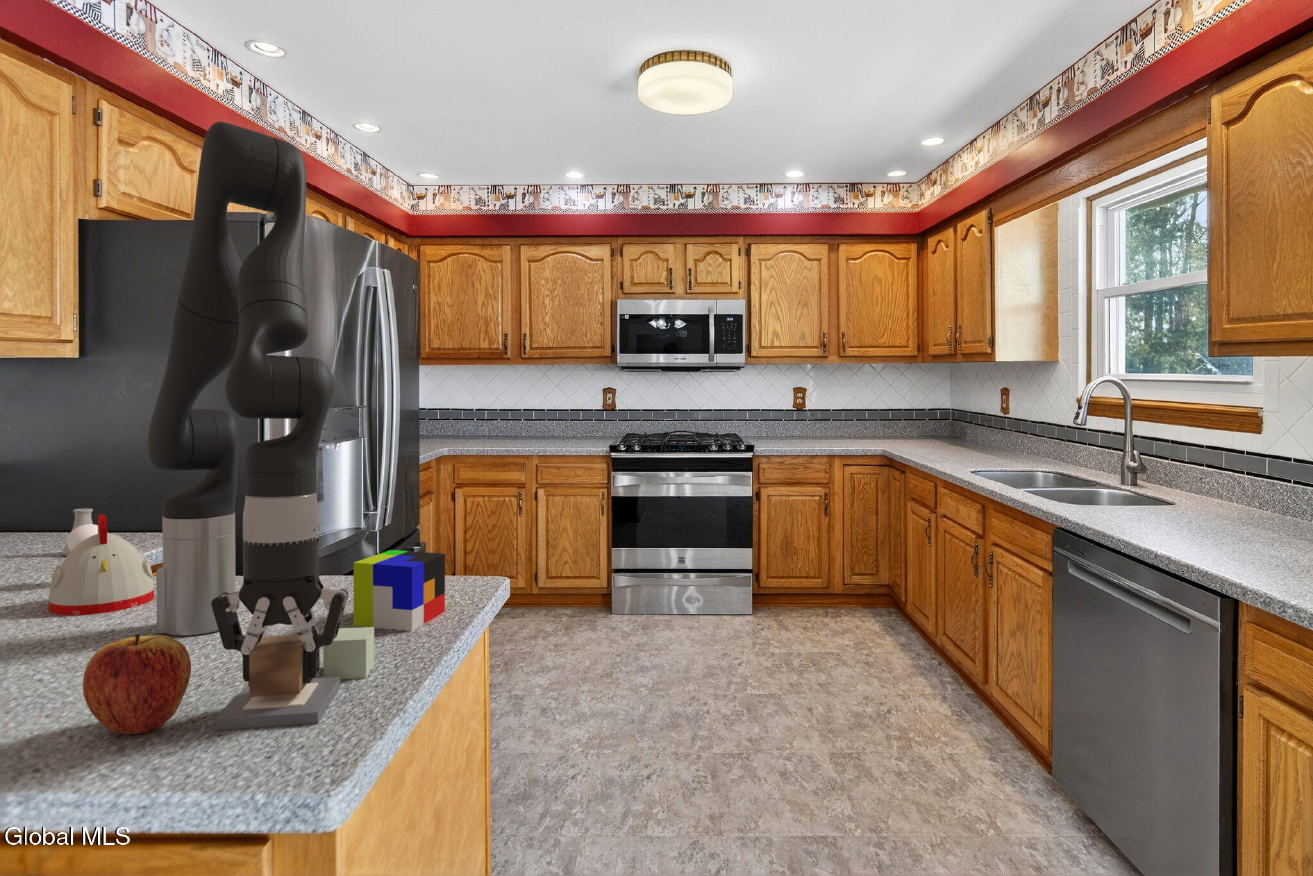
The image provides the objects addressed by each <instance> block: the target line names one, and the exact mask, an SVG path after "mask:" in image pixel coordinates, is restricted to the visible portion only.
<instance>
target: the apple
mask: <svg viewBox="0 0 1313 876" xmlns="http://www.w3.org/2000/svg"><path fill="white" fill-rule="evenodd" d="M190 657H191V656H190V654H189V651H188V649H187V648H186V646H185V645H184V644H183V643H182V642H181V641H178V640H176V639H175V638H173V637H170V636H167V635H164V634H163V635H160V634H159V635H141V633H136V634H135V635H134V636H132V637H127V638H126V637H125V638H123V639H122V638H121V639H118V640H116V641H115V640H114V641H112V642H109V643H107V644H105V645H104V646H102V647H101V648H99V649H98V650H97V651H95V653H94V654H93V655H92V656H91V658H90V659H89V661H88V662H87V665H86V667H85V669H84V674H83V678H82V679H83V680H82V693H83V699H84V700H85V703H86V705H87V708H88V709H89V711H90V713H91V714H92V716H93V717H94V718H95V719H96V720H97V721H98V722H99V724H101V725H102V726H103V727H104V728H106V729H107V730H108V731H111V732H113V733H115V734H121V735H135V734H136V735H137V734H145V733H148V732H151V731H154V730H156V729H158V728H160V727H162V726H163V725H165V724H166V723H167V722H168V721H169V720H171V718H172V717H173V716H174V715H175V714H176V712H177V710H178V709H179V707H180V705H181V703H182V701H183V698H184V697H185V694H186V692H187V689H188V687H189V684H190V680H191V675H192V662H191V658H190Z"/></svg>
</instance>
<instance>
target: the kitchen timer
mask: <svg viewBox="0 0 1313 876" xmlns="http://www.w3.org/2000/svg"><path fill="white" fill-rule="evenodd" d="M107 520H108V519H107V516H106V514H98V519H97V525H98V534H96V535H93V536H91V537H89V538H87V539H85V540H84V541H82V542H81V543H79V544H78V545H77V546H76V547H75V548H74V549H73V550H72V551H71V552H70V553H69V554H68V556H65V558H64V559H63V561H62V562H61V564H60V565H57V566H56V567H55V569H54V571H53V573H52V577H51V582H50V587H49V590H50V592H49V595H48V611H49V612H50V613H51V614H53V615H57V616H59V615H60V616H88V615H89V616H90V615H98V614H99V615H100V614H104V613H105V614H107V613H114V612H118V611H119V612H120V611H124V610H128V609H127V608H129V609H133V608H135V607H134V606H137V607H140V606H142V605H141V604H143V605H145V604H148V603H150V602H151V601H153V600H154V598H155V585H154V579H153V577H154V575H153V572H152V568H151V564H150V561H149V559H147V558H146V557H145V556H143V555H142V554H141V553H140V552H139V550H138V549H137V548H136V547H135V545H133V544H131V543H130V542H129V541H127V540H126V539H125V538H122V536H121V537H120V536H118V535H116V534H112V533H108V526H107V524H108V521H107ZM152 599H153V600H152ZM149 601H150V602H149ZM147 602H148V603H147ZM144 603H145V604H144ZM139 605H140V606H139ZM132 607H133V608H132Z"/></svg>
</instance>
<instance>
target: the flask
mask: <svg viewBox="0 0 1313 876" xmlns="http://www.w3.org/2000/svg"><path fill="white" fill-rule="evenodd" d="M93 510H94V509H93V508H76V509H73V510H72V512H73V513H74V521H73V527H72V529H71V531H70V533H71V532H72V531H73V530H74V529H75V528H77V527H79V526H82V525H86V524H94V523H93V519H92V512H94V511H93ZM70 552H71V551H70V550H69V548H68V546H67V542H65V545H64V547H63V549H62V551H61V554H60V556H64V557H67V556H68V554H69V553H70Z"/></svg>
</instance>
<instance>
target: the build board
mask: <svg viewBox="0 0 1313 876" xmlns="http://www.w3.org/2000/svg"><path fill="white" fill-rule="evenodd" d="M340 687H341V679H340V677H328V678H324V677H315V678H313V680H312V681H311V682H310V684H306V685H305V687H304V688H303V690H302V691H301V692H300V694H291V695H274V696H257V697H250V687H249V685H248V684H247V685H246V686H245V687H244V688H243V689H242V690H241V691H240V692H239V693H238V694H237V695H236V696H235V697H234V698H233V699H232V701H231V702H229V703H228V705H227V706H225V708H224V709H223V710H221V712H220V713H219V714H218V715H217V717H216V718H214V731H222V730H223V731H224V730H225V731H226V730H239V729H240V730H241V729H252V728H268V727H281V726H282V727H284V726H296V725H299V726H300V725H312V724H319V722H320V721H321V719H322V718H323V716H324V714H325V712H326V711H327V709H328V707H329V706H330V704H331V702H332V701H333V699H334V698H335V696H336V694H337V692H338V691H339V690H340Z"/></svg>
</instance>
